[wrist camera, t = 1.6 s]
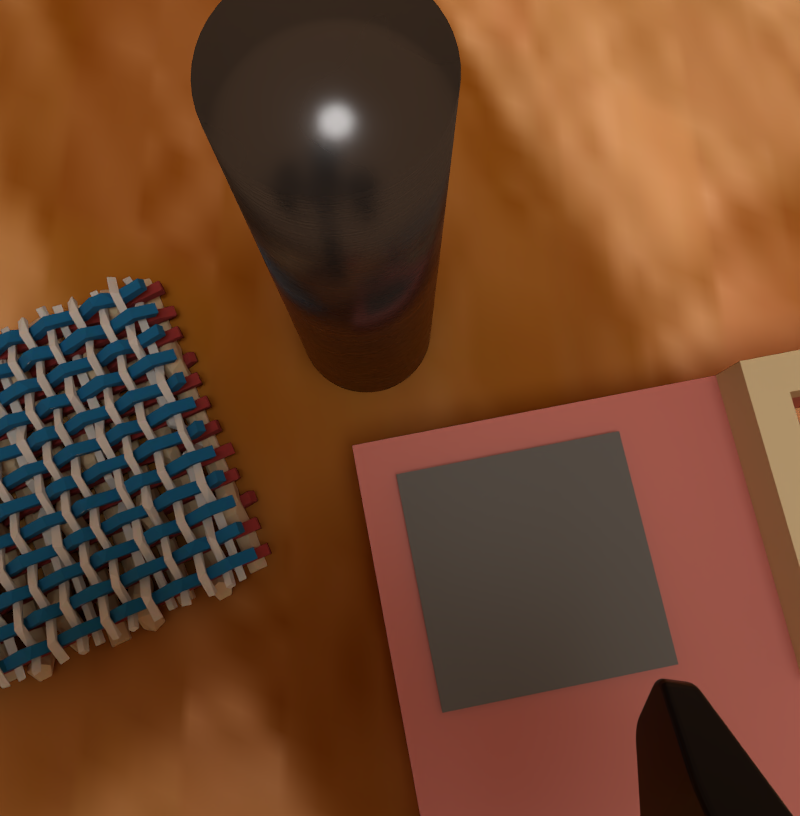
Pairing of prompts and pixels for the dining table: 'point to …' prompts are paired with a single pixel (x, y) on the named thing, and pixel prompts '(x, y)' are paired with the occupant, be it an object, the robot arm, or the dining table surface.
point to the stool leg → (338, 165)
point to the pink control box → (591, 587)
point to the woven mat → (108, 478)
